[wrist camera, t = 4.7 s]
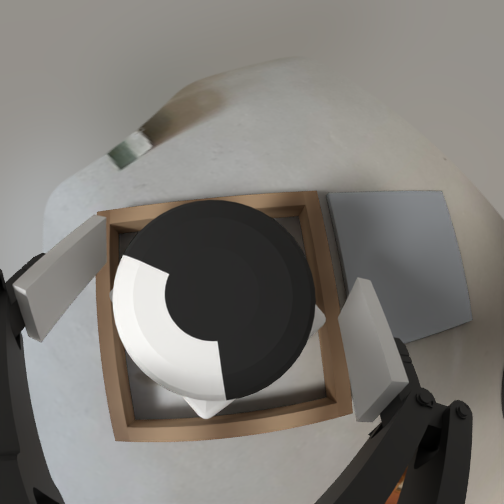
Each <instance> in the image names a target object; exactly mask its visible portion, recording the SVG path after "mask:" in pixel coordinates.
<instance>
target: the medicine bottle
mask: <svg viewBox="0 0 504 504" xmlns="http://www.w3.org/2000/svg"><path fill="white" fill-rule="evenodd" d="M109 296H110V299H111V301H112V303H113V312H114V318H115V324H116V327H117V330H118V333H119V336H120V339H121V341H122V343H123V345H124V347H125V349H126V351H127V352H128V354H129V355H130V357H131V358H132V360H133V361H134V362H135V363H136V365H137V366H138V367H139V368H140V369H141V370H142V371H143V372H144V373H145V374H146V375H147V376H148V377H150V378H151V379H152V380H153V381H155V382H156V383H157V384H159V385H161V386H162V387H164V388H166V389H167V390H169V391H172V392H174V393H177V394H179V395H181V396H182V397H183V398H184V399H185V400H186V401H187V403H188V404H189V405H190V406H191V407H192V408H193V409H194V411H195V412H196V413H197V414H198V415H199V416H200V417H202V418H203V419H208V418H211V417H213V416H214V415H215V414H217V413H218V412H219V411H221V410H222V409H224V408H225V407H226V406H228V405H229V404H230V403H232V402H233V401H234V400H235V399H237V398H242V397H245V396H248V395H251V394H253V393H256V392H258V391H260V390H262V389H264V388H266V387H267V386H269V385H270V384H272V383H273V382H275V381H276V380H277V379H279V378H280V377H281V376H282V375H283V374H284V373H285V372H286V371H287V370H288V369H289V368H290V367H291V366H292V365H293V364H294V362H295V361H296V360H297V358H298V357H299V356H300V354H301V352H302V350H303V348H304V347H305V345H306V343H307V340H308V339H309V338H310V337H311V336H312V335H313V334H314V333H316V332H317V331H318V330H319V329H320V328H321V327H322V326H323V325H324V323H325V322H326V317H325V315H324V314H323V312H322V311H321V310H320V309H319V308H318V306H317V305H316V298H315V286H314V281H313V276H312V273H311V270H310V267H309V264H308V261H307V259H306V257H305V255H304V254H303V252H302V250H301V248H300V247H299V245H298V244H297V242H296V241H295V240H294V238H293V237H292V236H291V235H290V234H289V233H288V232H287V230H286V229H285V228H284V227H282V226H281V225H280V224H279V223H278V222H276V221H275V220H274V219H273V218H271V217H269V216H268V215H266V214H265V213H263V212H261V211H259V210H257V209H255V208H252V207H250V206H247V205H244V204H241V203H237V202H232V201H225V200H202V201H195V202H190V203H186V204H183V205H180V206H177V207H175V208H172V209H170V210H168V211H166V212H164V213H162V214H161V215H159V216H158V217H156V218H155V219H153V220H152V221H151V222H149V223H148V224H147V225H146V226H145V227H144V228H143V229H142V230H141V231H140V232H139V233H138V234H137V235H136V236H135V238H134V239H133V240H132V241H131V243H130V244H129V246H128V248H127V249H126V251H125V253H124V254H123V256H122V259H121V261H120V264H119V266H118V269H117V273H116V276H115V280H114V288H113V289H112V290H111V291H110V295H109Z"/></svg>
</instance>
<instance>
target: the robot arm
mask: <svg viewBox="0 0 504 504" xmlns="http://www.w3.org/2000/svg"><path fill="white" fill-rule="evenodd" d="M106 263H107V249H106V217H103V216H98V215H93V216H92V217H90V218H89V219H88V220H86V221H85V222H84V223H83V224H81V225H80V226H79V227H78V228H76V229H75V230H74V231H73V232H71V233H70V234H69V235H68V236H66V237H65V238H64V239H63V240H61V241H60V242H59V243H58V244H57V245H55V246H54V247H53V248H52V249H51V250H50V251H48V252H47V253H41V254H39V255H37V256H35V257H33V258H32V259H31V260H30V261H29V262H28V263H27V264H25V265H24V266H23V267H22V269H20V270H19V271H17V272H16V273H15V274H14V275H13V276H12V277H11V278H10V279H9V280H8V281H7V282H6V283H5V281H4V277H3V273H2V270H1V269H0V504H65V503H64V500H63V498H62V496H61V494H60V492H59V490H58V489H57V487H56V486H55V484H54V482H53V480H52V478H51V476H50V473H49V470H48V467H47V464H46V460H45V457H44V454H43V450H42V447H41V443H40V440H39V436H38V432H37V428H36V423H35V419H34V414H33V410H32V405H31V399H30V394H29V388H28V381H27V374H26V367H25V358H24V348H23V337H22V334H21V331H22V330H23V328H24V327H25V328H26V330H27V333H28V336H29V337H31V338H33V339H35V340H37V341H39V342H41V343H42V341H43V340H44V338H45V337H46V336H47V334H48V333H49V332H50V331H51V329H52V328H53V327H54V325H55V324H56V323H57V321H58V320H59V319H60V318H61V316H62V315H63V314H64V313H65V311H66V310H67V309H68V308H69V306H70V305H71V304H72V303H73V301H74V300H75V299H76V298H77V297H78V295H79V294H80V293H81V292H82V291H83V289H84V288H85V287H86V286H87V285H88V283H89V282H90V281H91V280H92V279H93V278H94V276H95V275H96V274H97V273H98V272H99V271H100V270H101V268H102V267H103V266H104V265H105V264H106ZM338 322H339V326H340V331H341V336H342V341H343V346H344V351H345V356H346V362H347V367H348V372H349V378H350V384H351V390H352V396H353V402H354V408H355V415H356V421H357V422H373V421H374V420H375V419H376V418H377V417H378V416H379V415H380V416H381V421H382V422H381V423H380V424H379V425H378V426H377V427H376V428H375V429H374V430H373V431H372V432H371V433H369V434H368V435H370V437H369V439H368V440H367V441H366V443H365V444H364V445H363V447H362V448H361V449H360V451H359V452H358V453H357V455H356V456H355V457H354V459H353V460H352V461H351V462H350V464H349V465H348V466H347V467H346V469H345V470H344V471H343V472H342V473H341V475H340V476H339V477H338V478H337V479H336V480H335V482H334V483H333V484H332V485H331V486H330V487H329V488H328V490H327V491H326V492H325V493H324V494H323V495H322V496H321V497H320V498H319V499H318V500H317V501H316V503H315V504H385V503H386V501H387V500H388V498H389V496H390V495H391V493H392V492H393V490H394V488H395V487H396V485H397V484H398V482H399V480H400V478H401V477H402V475H403V473H404V472H405V470H406V468H407V466H408V468H407V472H406V475H405V479H404V482H403V486H402V489H401V492H400V495H399V498H398V501H397V504H465V499H466V493H467V486H468V479H469V470H470V460H471V447H472V420H473V417H472V412H471V410H470V408H469V406H468V405H467V404H466V403H464V402H463V401H460V400H456V401H454V402H452V403H451V404H450V405H449V406H445V405H441V404H439V403H436V401H435V398H434V397H433V395H432V394H431V393H430V392H429V391H428V390H426V389H424V388H422V387H421V386H420V383H419V380H418V377H417V374H416V372H415V369H414V366H413V364H412V361H411V358H410V357H409V353H408V350H407V348H406V346H405V345H404V343H403V342H402V341H401V339H400V338H395V337H393V335H392V333H391V330H390V327H389V325H388V322H387V320H386V317H385V314H384V312H383V309H382V307H381V304H380V302H379V300H378V297H377V295H376V292H375V290H374V288H373V285H372V283H371V281H370V280H367V279H363V278H359V277H357V279H356V281H355V283H354V286H353V288H352V290H351V292H350V294H349V296H348V298H347V300H346V302H345V304H344V306H343V308H342V310H341V312H340V314H339V316H338ZM502 411H503V417H504V375H503V383H502Z"/></svg>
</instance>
